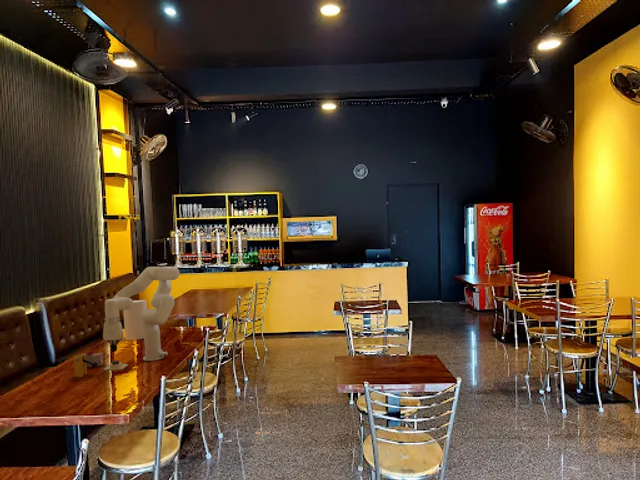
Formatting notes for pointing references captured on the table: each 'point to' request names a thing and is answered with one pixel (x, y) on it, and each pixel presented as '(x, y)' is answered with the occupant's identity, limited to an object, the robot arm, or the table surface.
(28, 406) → the table surface
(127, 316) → the cylinder
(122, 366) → the control block
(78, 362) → the lever bracket
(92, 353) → the food item
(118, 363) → the stop button
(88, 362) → the press lever
